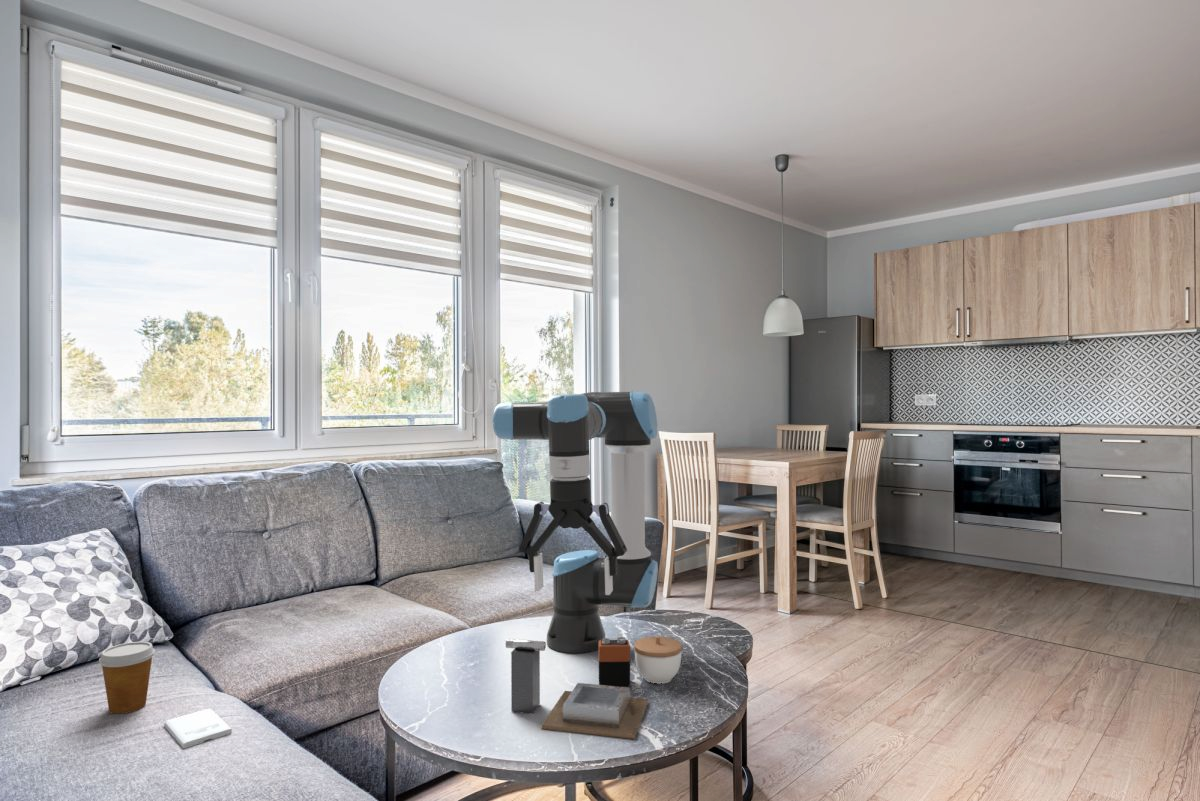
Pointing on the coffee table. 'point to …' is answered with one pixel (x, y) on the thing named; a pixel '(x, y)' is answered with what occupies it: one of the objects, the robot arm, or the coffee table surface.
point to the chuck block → (597, 711)
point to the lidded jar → (658, 658)
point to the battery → (614, 662)
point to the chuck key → (525, 674)
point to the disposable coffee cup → (127, 675)
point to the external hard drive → (197, 727)
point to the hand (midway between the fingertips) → (573, 591)
